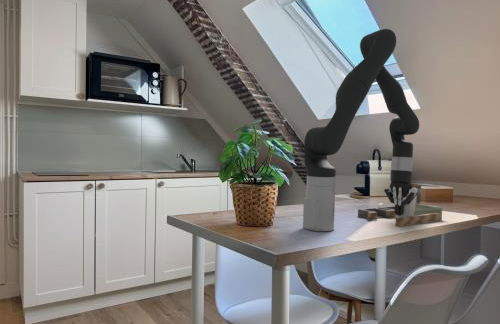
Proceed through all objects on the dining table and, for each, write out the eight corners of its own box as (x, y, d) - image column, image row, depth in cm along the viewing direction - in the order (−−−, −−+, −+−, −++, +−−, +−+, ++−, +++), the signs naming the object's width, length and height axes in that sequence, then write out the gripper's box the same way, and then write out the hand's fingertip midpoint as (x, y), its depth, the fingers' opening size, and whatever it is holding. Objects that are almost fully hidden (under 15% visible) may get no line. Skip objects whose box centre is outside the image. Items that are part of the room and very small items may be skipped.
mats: (374, 218, 139) (374, 218, 139) (362, 216, 144) (362, 216, 144) (404, 215, 149) (404, 214, 149) (392, 213, 154) (392, 212, 154)
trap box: (398, 226, 126) (399, 212, 126) (353, 216, 143) (353, 204, 143) (441, 220, 140) (442, 207, 140) (395, 212, 157) (395, 200, 157)
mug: (392, 208, 168) (393, 182, 168) (416, 209, 167) (417, 183, 166) (400, 213, 153) (401, 185, 152) (428, 215, 151) (429, 186, 151)
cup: (419, 221, 136) (421, 189, 135) (398, 220, 136) (399, 188, 135) (410, 218, 143) (412, 187, 143) (390, 217, 144) (391, 186, 143)
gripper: (380, 168, 140) (377, 212, 140) (411, 170, 129) (408, 218, 129) (392, 168, 144) (390, 212, 144) (423, 170, 133) (421, 217, 133)
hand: (398, 215), depth 136 cm, fingers closed
